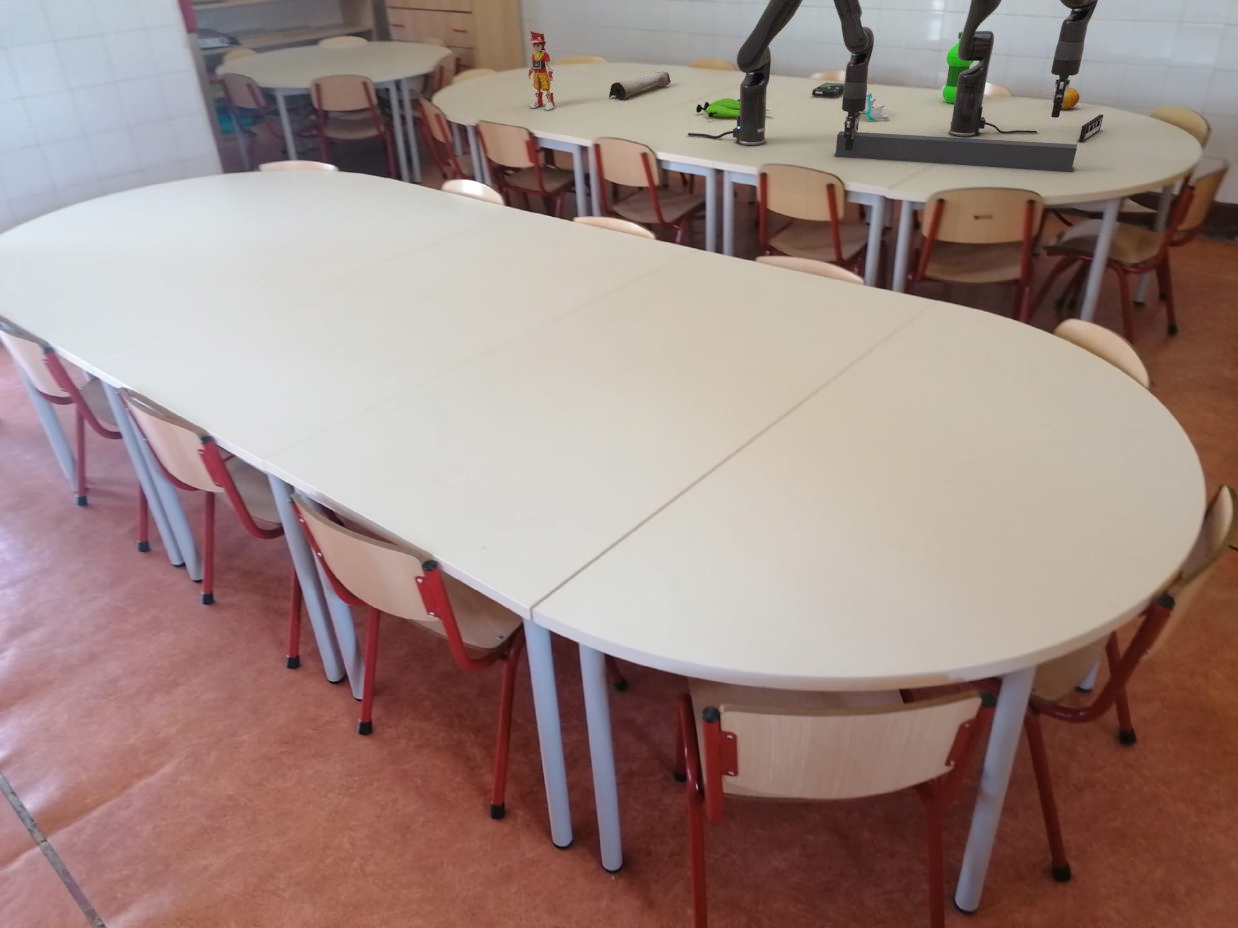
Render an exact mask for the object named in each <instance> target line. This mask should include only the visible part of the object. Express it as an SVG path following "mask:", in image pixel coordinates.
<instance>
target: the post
mask: <svg viewBox="0 0 1238 928" xmlns="http://www.w3.org/2000/svg"><path fill="white" fill-rule="evenodd" d="M848 135H850V132H848ZM845 142H846V139H845V138H844V130H840V131H839V132H838V133H837V134H836V144H835V145H836V146H835V157H842V158H843V157H844V158H860V159H873V160H886V161H887V160H889V161H903V162H916V163H917V162H918V163H919V162H920V163H932V164H934V163H936V164H949V165H950V164H951V165H965V166H978V167H980V166H981V167H996V168H1011V169H1023V170H1024V169H1025V170H1037V171H1038V170H1041V171H1052V172H1053V171H1054V172H1055V171H1056V172H1072V171H1073V166H1074V161H1075V158H1076V154H1077V149H1078V144H1077V143H1062V142H1061V143H1059V142H1041V141H1025V140H1022V141H1021V140H1007V139H1006V140H1005V139H990V138H969V137H955V136H954V137H953V136H951V137H950V136H936V135H917V134H899V133H884V132H883V133H882V132H881V133H879V132H864V131H863V132H862V131H857V132H854V135H853V142H852V149H851V150H850V151H849V150H845Z"/></svg>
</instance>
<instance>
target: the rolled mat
mask: <svg viewBox="0 0 1238 928" xmlns="http://www.w3.org/2000/svg"><path fill="white" fill-rule="evenodd" d="M671 83H672V81H671V77H670V74H669V72H668V71H658V72H654V73H649V74H645V75H640V76H637V77H633V78H628V79H623V80H620V81H616V82H613V83H612V84H611V85H610V89H609V95H608V97H609V98H611V97H616V99H620V100H622V101H623V100H626V99H627V98H629V97H630V96H632V95H635V94H636V93H638V92H640V91H643V90H644V89H647V88H650V87H655V86H658V87H659V86H661V87H665V86H669V85H670V84H671Z"/></svg>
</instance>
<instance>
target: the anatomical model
mask: <svg viewBox="0 0 1238 928" xmlns="http://www.w3.org/2000/svg"><path fill="white" fill-rule="evenodd" d="M872 98H873V95H872V93H870V92H869V91H868V90H867V95H866V105H865V110H864V111H861V112H860V113H864V114H865V115H866V118H867V119H868V121H870V122H874V121H876V120H882V119H883V120H886V119H888V118H889V115H888V114H884V113H883V109H884V108H885V107H886V105H885V104H881V105H879V106H874V103H875V102H876V100H877V99H876V98H873V99H872Z"/></svg>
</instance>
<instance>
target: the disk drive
mask: <svg viewBox="0 0 1238 928" xmlns="http://www.w3.org/2000/svg"><path fill="white" fill-rule="evenodd" d="M844 84H845V83H841V82H824V83H823V84H820V85H819V86H817V87H815V88H813V89H812V93H811V95H812V96H813V97H820V98H833V99H834V98H837V97H839V96H841V95H843V90H844Z"/></svg>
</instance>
